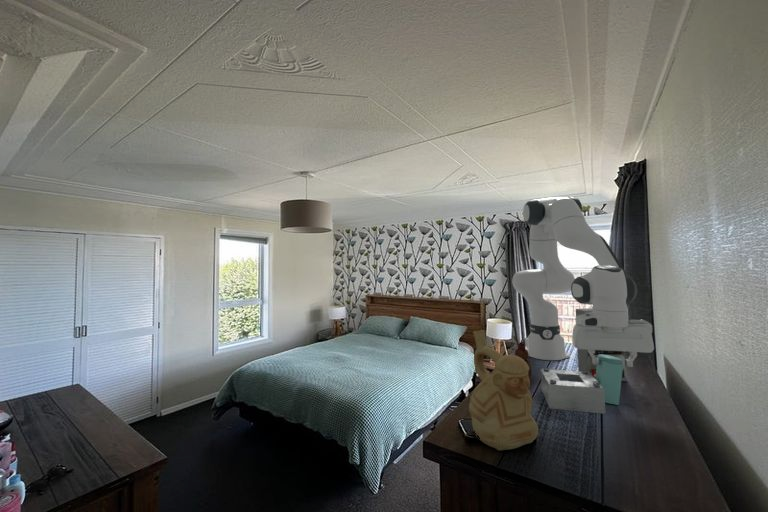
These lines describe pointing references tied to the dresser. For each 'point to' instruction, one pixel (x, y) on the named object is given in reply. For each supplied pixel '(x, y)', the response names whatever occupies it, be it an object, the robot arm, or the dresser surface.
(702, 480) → the dresser surface
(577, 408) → the housing
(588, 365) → the cassette tape recorder
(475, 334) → the ceramic vessel
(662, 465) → the dresser surface
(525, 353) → the wooden figurine
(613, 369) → the cover plug
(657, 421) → the dresser surface
